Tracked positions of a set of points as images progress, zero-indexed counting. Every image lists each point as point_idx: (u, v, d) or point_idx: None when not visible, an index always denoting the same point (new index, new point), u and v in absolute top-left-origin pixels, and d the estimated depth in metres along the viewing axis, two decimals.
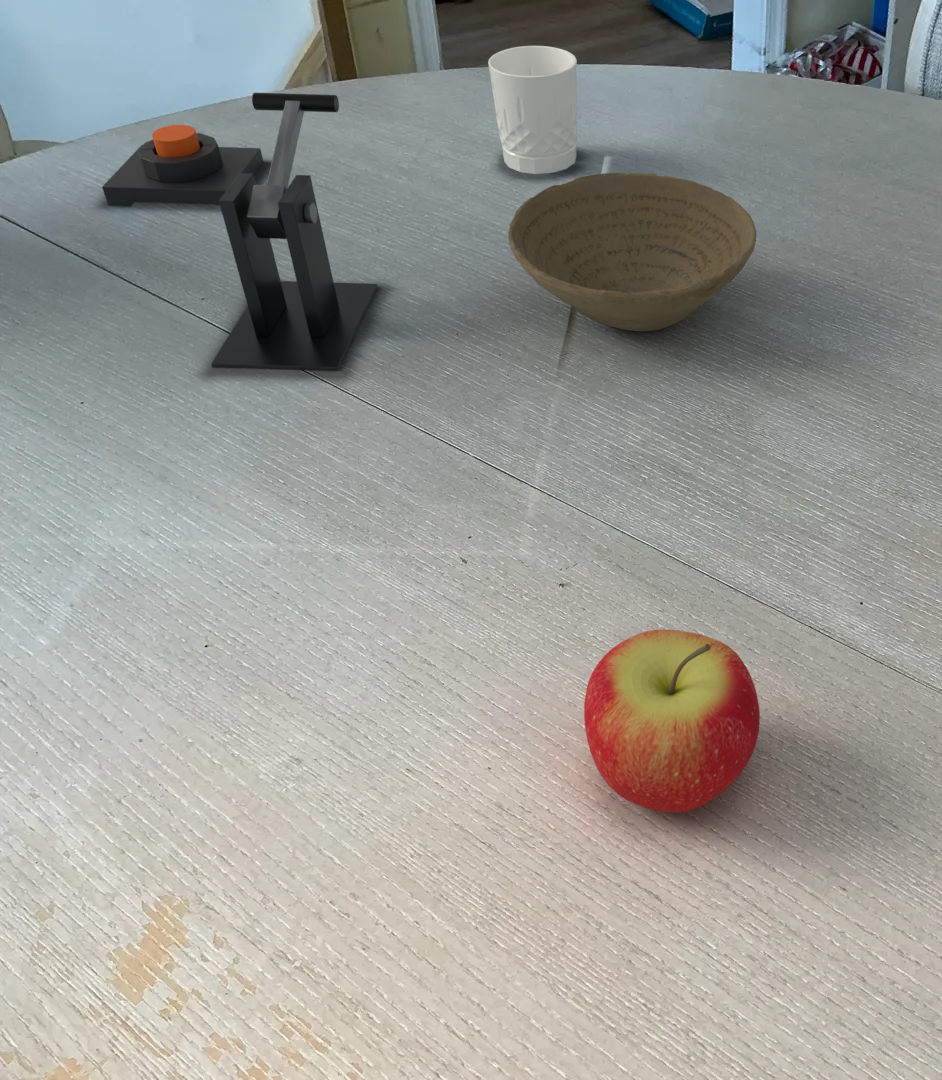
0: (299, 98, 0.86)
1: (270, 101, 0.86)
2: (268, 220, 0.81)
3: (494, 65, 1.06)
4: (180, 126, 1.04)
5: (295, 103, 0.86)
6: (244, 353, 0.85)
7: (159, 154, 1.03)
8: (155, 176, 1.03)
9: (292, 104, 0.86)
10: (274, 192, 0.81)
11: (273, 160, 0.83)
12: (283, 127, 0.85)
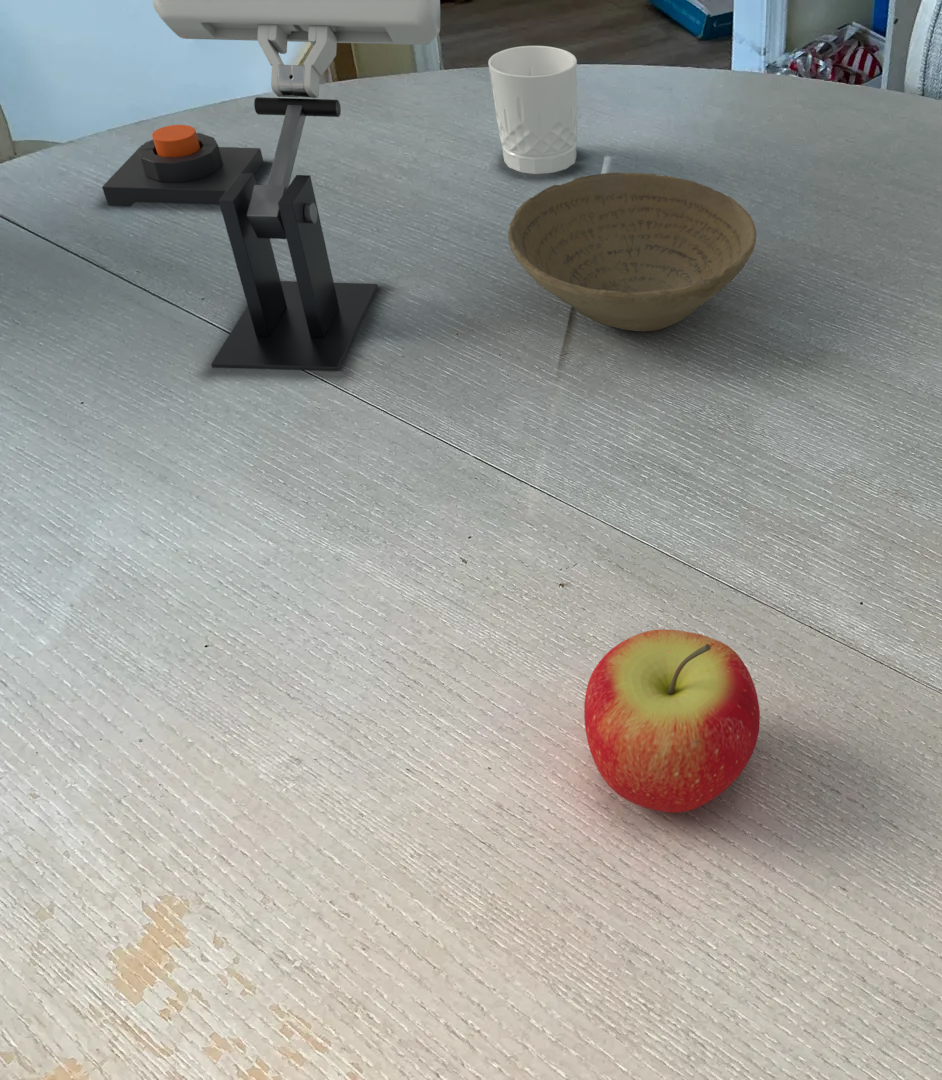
0: (301, 103, 0.86)
1: (272, 106, 0.86)
2: (267, 219, 0.81)
3: (494, 65, 1.06)
4: (180, 126, 1.04)
5: (297, 107, 0.86)
6: (244, 353, 0.85)
7: (159, 154, 1.03)
8: (155, 176, 1.03)
9: (294, 108, 0.86)
10: (274, 192, 0.82)
11: (274, 162, 0.84)
12: (285, 130, 0.85)
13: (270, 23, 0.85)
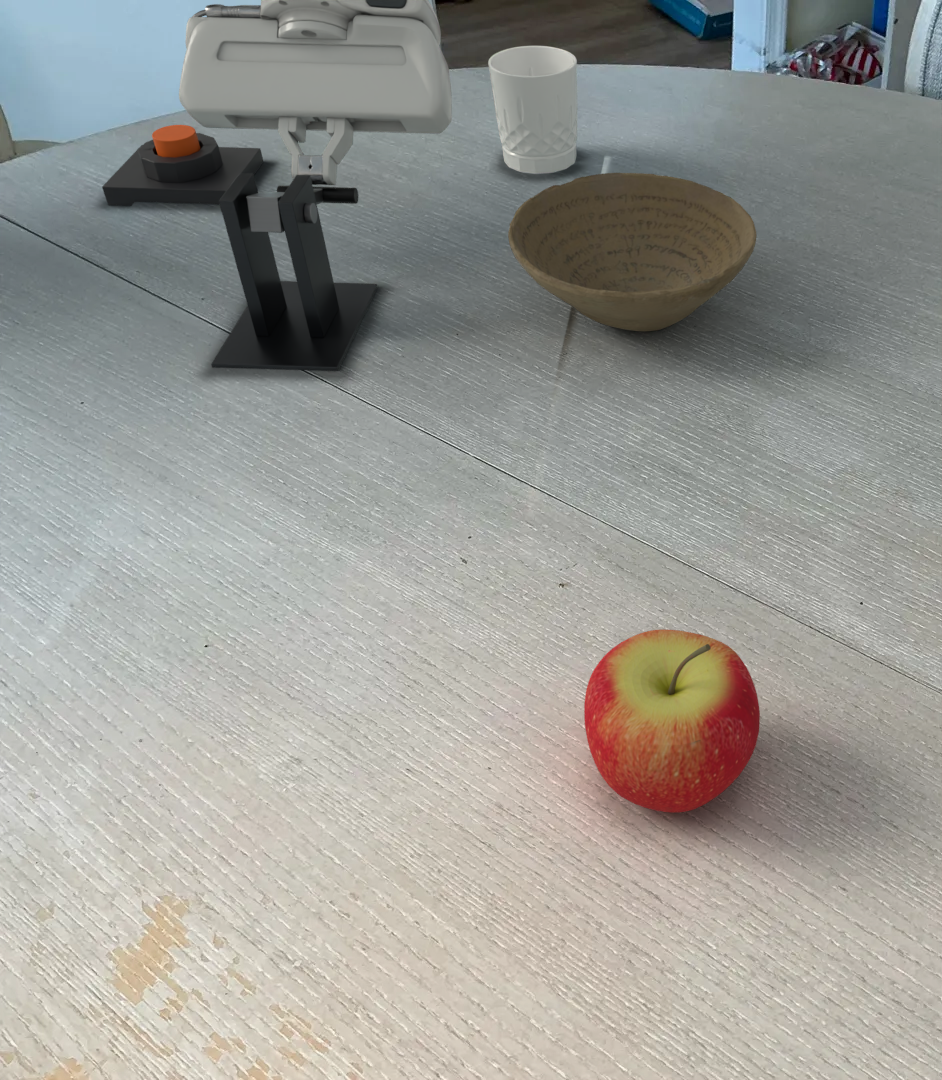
0: (322, 188, 0.91)
1: None
2: (266, 202, 0.81)
3: (494, 65, 1.06)
4: (180, 126, 1.04)
5: (317, 188, 0.91)
6: (244, 353, 0.85)
7: (159, 154, 1.03)
8: (155, 176, 1.03)
9: (314, 189, 0.91)
10: (279, 193, 0.82)
11: None
12: None
13: (290, 116, 0.89)
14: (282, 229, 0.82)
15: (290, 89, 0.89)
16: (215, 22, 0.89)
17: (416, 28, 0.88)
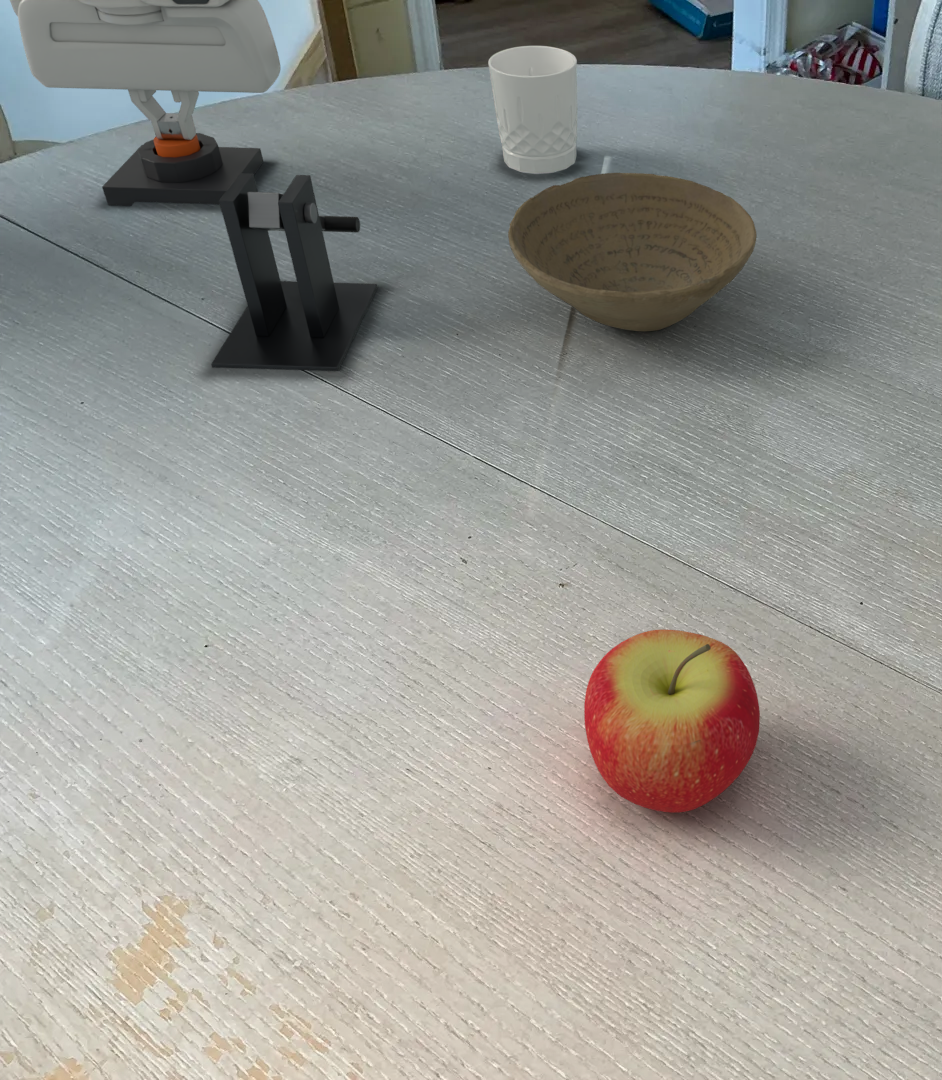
0: (324, 216, 0.92)
1: None
2: (267, 198, 0.81)
3: (494, 65, 1.06)
4: None
5: None
6: (244, 353, 0.85)
7: None
8: (155, 176, 1.03)
9: None
10: None
11: None
12: None
13: (138, 89, 1.00)
14: (281, 225, 0.81)
15: (129, 69, 0.98)
16: (36, 3, 0.95)
17: (226, 17, 0.94)
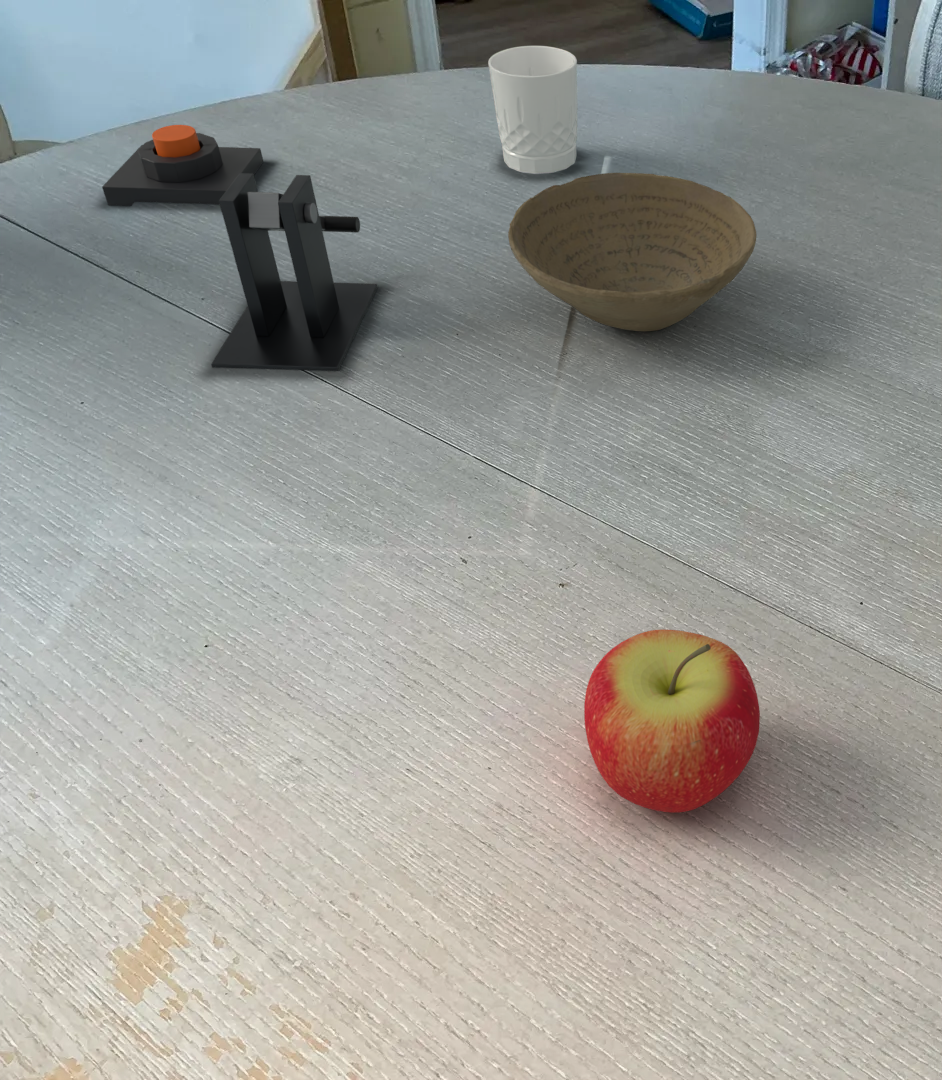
0: (324, 216, 0.92)
1: None
2: (267, 198, 0.81)
3: (494, 65, 1.06)
4: (180, 126, 1.04)
5: None
6: (244, 353, 0.85)
7: (159, 154, 1.03)
8: (155, 176, 1.03)
9: None
10: None
11: None
12: None
13: None
14: (281, 225, 0.81)
15: None
16: None
17: None
